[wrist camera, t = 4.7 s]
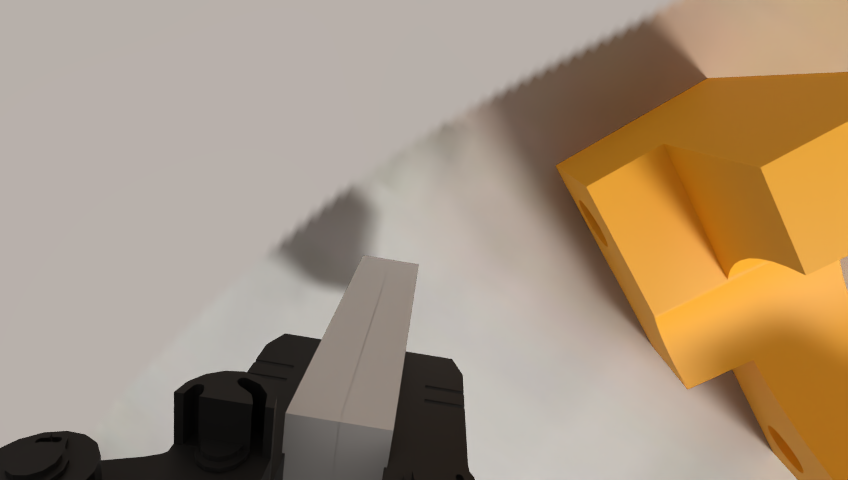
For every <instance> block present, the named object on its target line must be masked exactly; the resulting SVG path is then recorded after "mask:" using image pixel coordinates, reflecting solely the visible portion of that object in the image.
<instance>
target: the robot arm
mask: <svg viewBox="0 0 848 480" xmlns="http://www.w3.org/2000/svg"><path fill="white" fill-rule="evenodd" d="M418 266H419V264H413V263H407V262H401V261H395V260H389V259H383V258H377V257H371V256H365V255H363V257H362V259H361V261H360V263H359V265H358V267H357V269H356V271H355V273H354V275H353V277H352V279H351V281H350V283H349V285H348V287H347V289H346V291H345V293H344V295H343V297H342V299H341V302H340V304H339V306H338V308H337V310H336V312H335V314H334V316H333V318H332V320H331V322H330V324H329V326H328V328H327V330H326V332H325V334H324V336H323V338H322V340H321V339H315V338H309V337H303V336H297V335H291V334H284V335H282V336H280V337H278V338H277V339H275V340H273V341H272V342H270V343H268V344H267V345H266V346H265V347H264V349H263V350H262V352H261V353H260V355H259V356H258V357H257V359H256V362H254V363H253V365H252V366H251V367H250V369H249V370H248V372H239V371H222V372H216V373H210V374H205V375H202V376H200V377H197V378H195V379H193V380H190V381H188V382H186V383H185V384H184V385H183V386H181V387H180V388H179V389H177V390H176V391H175V392H174V444H173V446H172V447H171V448H170V450H169V451H168V452H165V453H162V454H158V455H152V456H146V457H136V458H124V459H113V460H101V455H100V451H99V448H98V444H97V443H96V442H95V441H94V440H92V439H91V438H90V437H88V436H87V435H85V434H80V433H74V432H69V431H61V432H45V433H40V434H37V435H33V436H29V437H26V438H22V439H18V440H17V441H14V442H12V443H10V444H8V445H6V446H4V447H2V448H0V480H475V479H474V477H473V476H472V474H471V473H470V472H469V468H468V459H467V442H466V425H465V409H464V395H463V375H462V373H461V372H460V370H459V369H458V367H457V366H456V364H455V363H454V362H453V360H452V359H448V358H442V357H436V356H430V355H424V354H417V353H411V352H405V351H406V345H407V338H408V332H409V325H410V319H411V312H412V305H413V299H414V292H415V286H416V279H417V273H418Z"/></svg>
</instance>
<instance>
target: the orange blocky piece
mask: <svg viewBox="0 0 848 480" xmlns="http://www.w3.org/2000/svg"><path fill="white" fill-rule="evenodd" d="M556 168H557V170H558V171H559V173H560V175H561V177H562V179H563V181H564V183H565V185H566V186H567V188H568V190H569V192H570V194H571V196H572V198H573V199H574V201H575V203H576V205H577V207H578V209H579V211H580V212H581V214H582V216H583V218H584V220H585V222H586V224H587V225H588V227H589V229H590V231H591V233H592V235H593V237H594V238H595V240H596V242H597V244H598V246H599V248H600V250H601V251H602V253H603V255H604V257H605V259H606V261H607V263H608V264H609V266H610V268H611V270H612V272H613V274H614V276H615V277H616V279H617V281H618V283H619V285H620V287H621V289H622V290H623V292H624V294H625V296H626V298H627V300H628V302H629V303H630V305H631V307H632V309H633V311H634V313H635V315H636V316H637V318H638V320H639V322H640V324H641V326H642V328H643V329H644V331H645V333H646V335H647V337H648V339H649V341H650V342H651V344H652V346H653V347H654V349H655V350H656V351H657V352H658V354H659V355H660V356H661V357H662V359H663V360H664V361H665V362H666V363H667V365H668V366H669V367H670V368H671V370H672V371H673V372H674V373H675V375H676V376H677V377H678V378H679V380H680V381H681V382H682V383H683V384H684V386H685V387H686V388H687V389H690V388H692V387H694V386H697V385H699V384H701V383H703V382H705V381H708V380H710V379H712V378H714V377H717V376H719V375H721V374H723V373H725V372H728V371H730V370H733V372H734V374H735V376H736V378H737V380H738V382H739V384H740V386H741V388H742V390H743V392H744V394H745V396H746V398H747V400H748V402H749V404H750V406H751V408H752V411H753V413H754V415H755V417H756V419H757V421H758V423H759V425H760V427H761V429H762V431H763V433H764V435H765V437H766V439H767V441H768V443H769V445H770V447H771V449H772V451H773V453H774V454H775V455H776V456H777V457H778V458H779V459H780V460H781V462H782V463H783V464H784V465H785V466H786V467H787V468H788V469H789V470H790V472H791V473H792V474H793V475H794V476H795V477H796V478H797V479H798V480H848V291H847V288H846V285H845V282H844V279H843V275H842V270H841V265H840V259H842V258H844V257H846V256H848V72H837V73H815V74H792V75H770V76H747V77H725V78H707V79H705V80H703V81H702V82H700V83H698V84H696V85H695V86H693V87H691V88H690V89H688V90H686V91H684V92H683V93H681V94H679V95H677V96H676V97H674V98H672V99H670V100H669V101H667V102H665V103H663V104H662V105H660V106H658V107H656V108H655V109H653V110H651V111H650V112H648V113H646V114H644V115H643V116H641V117H639V118H637V119H636V120H634V121H632V122H630V123H629V124H627V125H625V126H623V127H622V128H620V129H618V130H616V131H615V132H613V133H611V134H610V135H608V136H606V137H604V138H603V139H601V140H599V141H597V142H596V143H594V144H592V145H590V146H589V147H587V148H585V149H583V150H582V151H580V152H578V153H576V154H575V155H573V156H571V157H570V158H568V159H566V160H564V161H563V162H561V163H559V164H557V165H556Z"/></svg>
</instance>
